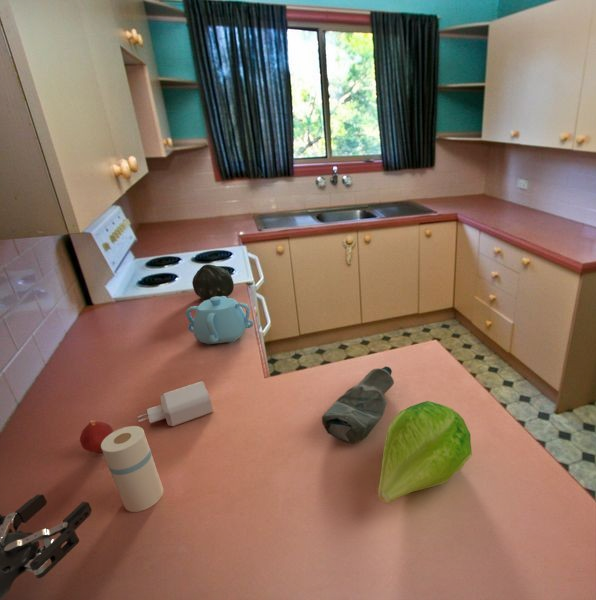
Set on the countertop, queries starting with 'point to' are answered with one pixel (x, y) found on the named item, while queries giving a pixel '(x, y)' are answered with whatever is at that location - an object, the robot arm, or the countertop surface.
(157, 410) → the charger
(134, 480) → the paper towel roll
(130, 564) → the countertop surface
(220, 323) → the decorative pot
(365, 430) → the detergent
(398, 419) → the lettuce
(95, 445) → the onion
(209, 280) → the squash
